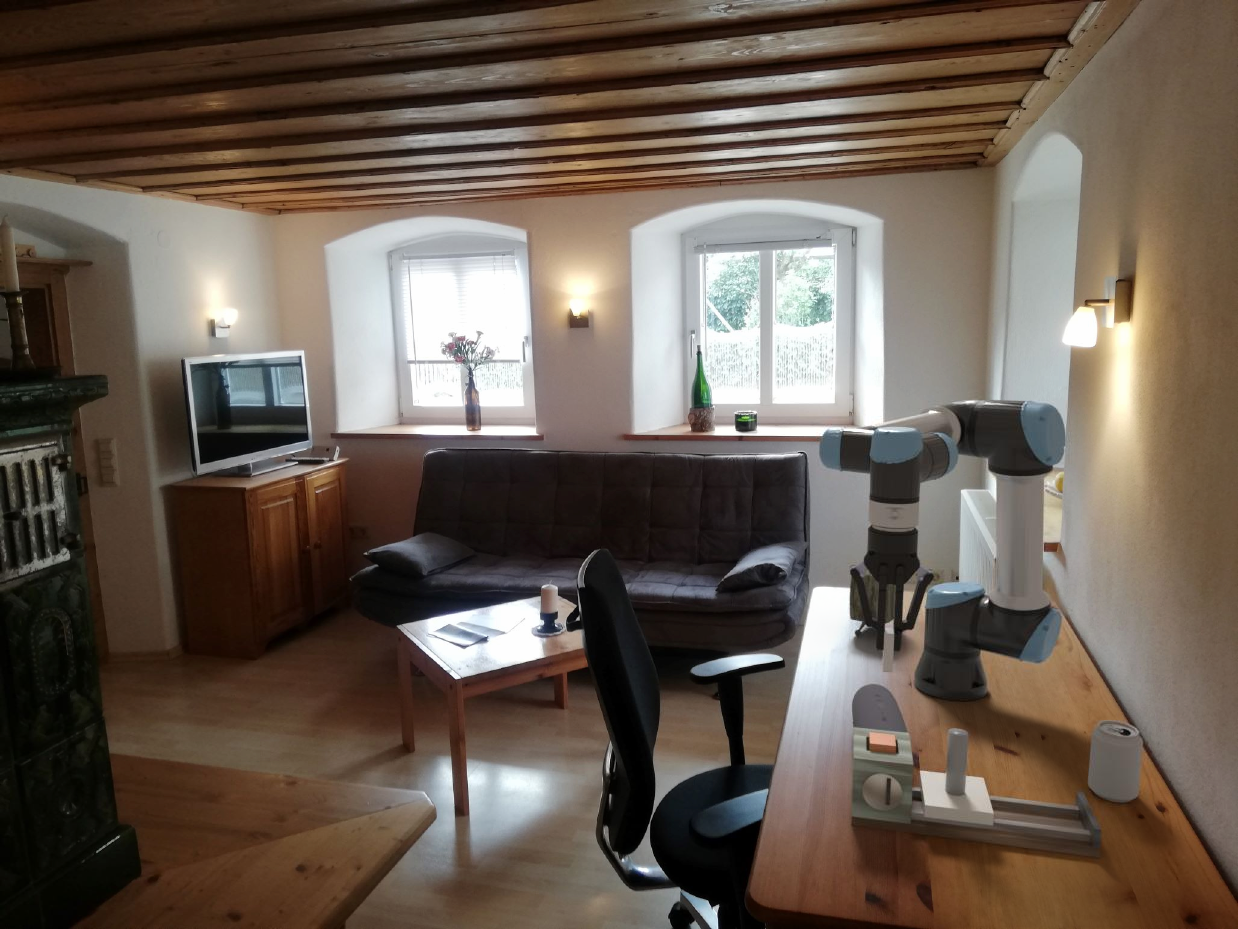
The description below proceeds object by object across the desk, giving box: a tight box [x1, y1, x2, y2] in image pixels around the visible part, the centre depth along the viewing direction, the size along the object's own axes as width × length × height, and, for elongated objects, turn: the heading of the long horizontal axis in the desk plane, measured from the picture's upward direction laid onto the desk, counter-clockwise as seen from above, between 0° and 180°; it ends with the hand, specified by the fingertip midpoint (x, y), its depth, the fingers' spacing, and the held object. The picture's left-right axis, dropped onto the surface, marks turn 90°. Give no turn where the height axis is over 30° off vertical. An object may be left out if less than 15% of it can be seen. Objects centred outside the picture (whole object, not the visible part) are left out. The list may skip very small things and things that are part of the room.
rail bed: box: [850, 727, 1103, 858], centre depth 139 cm, size 12×36×12 cm, turn 75°
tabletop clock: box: [849, 568, 895, 637], centre depth 225 cm, size 14×9×25 cm, turn 144°
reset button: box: [869, 732, 896, 754], centre depth 142 cm, size 4×4×3 cm
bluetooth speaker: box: [851, 683, 908, 733], centre depth 161 cm, size 23×9×10 cm, turn 170°
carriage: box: [918, 728, 994, 825], centre depth 140 cm, size 11×10×12 cm
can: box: [1087, 719, 1144, 803], centre depth 148 cm, size 8×8×12 cm
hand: (887, 668), depth 141 cm, fingers closed
